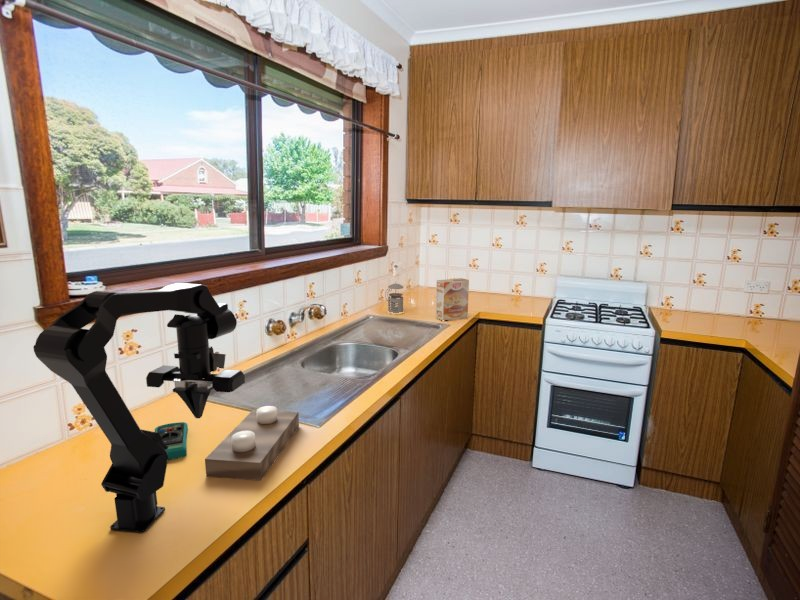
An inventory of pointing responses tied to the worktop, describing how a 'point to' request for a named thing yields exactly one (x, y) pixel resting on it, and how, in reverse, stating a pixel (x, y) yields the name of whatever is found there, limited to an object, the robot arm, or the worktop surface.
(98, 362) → the robot arm
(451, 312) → the coffeecake box
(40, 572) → the worktop surface
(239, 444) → the near knob
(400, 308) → the french press
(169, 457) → the digital multimeter
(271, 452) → the brown wooden board
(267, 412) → the far knob
